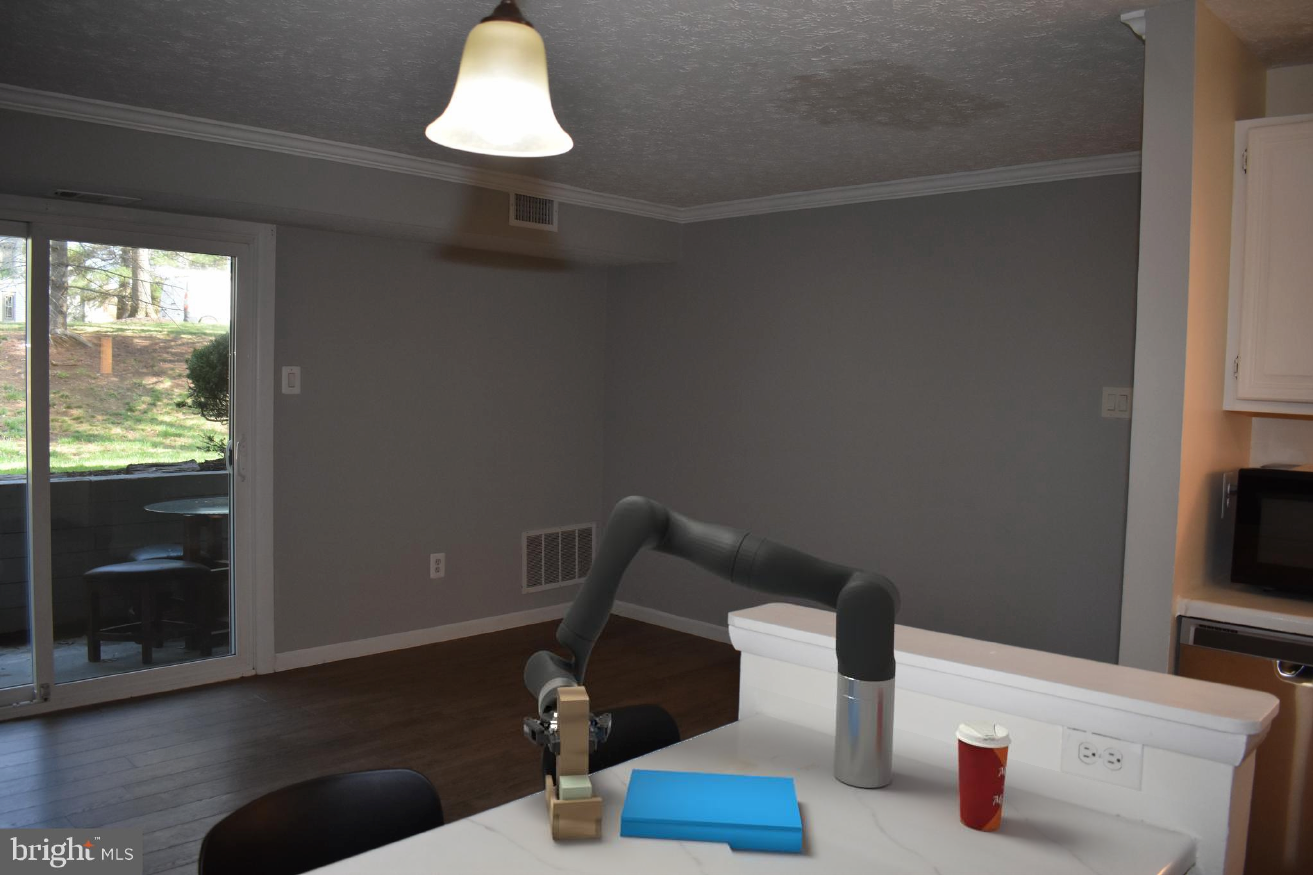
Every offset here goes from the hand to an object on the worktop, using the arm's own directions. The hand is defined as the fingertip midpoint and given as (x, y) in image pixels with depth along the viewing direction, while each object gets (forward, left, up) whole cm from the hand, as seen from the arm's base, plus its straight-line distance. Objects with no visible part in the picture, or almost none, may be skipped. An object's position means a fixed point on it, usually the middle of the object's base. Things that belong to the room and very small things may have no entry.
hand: (574, 747), depth 132 cm
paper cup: (-22, +55, -11) cm, 61 cm away
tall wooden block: (-2, -1, -9) cm, 9 cm away
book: (-8, +18, -12) cm, 23 cm away
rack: (0, 0, -11) cm, 11 cm away
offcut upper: (+3, +2, -6) cm, 7 cm away
